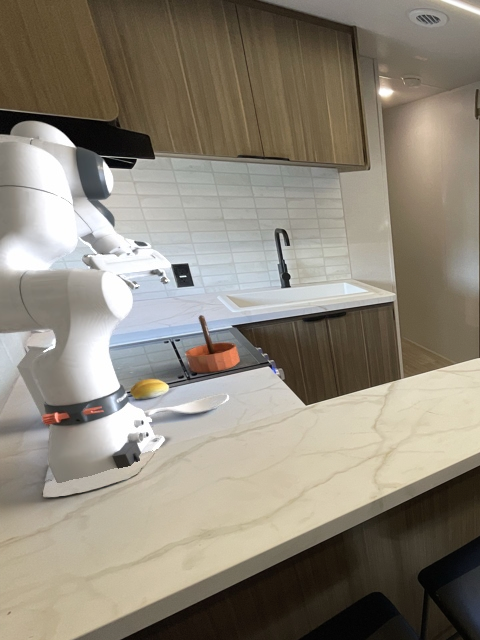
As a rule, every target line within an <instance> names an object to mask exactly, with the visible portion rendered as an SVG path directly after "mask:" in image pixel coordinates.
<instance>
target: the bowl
mask: <svg viewBox="0 0 480 640" xmlns="http://www.w3.org/2000/svg"><path fill="white" fill-rule="evenodd" d="M212 344H213V348H214V351H215V354H211V355H209V351H208V348H207V345H206V344H202V345H197V346H195V347H192V348H189V349H187V350H186V351H185V352H184V357H185V360H186V362H187V365H188V369H189V370H190V371H191V372H194V373H197V374H208V373H209V374H210V373H217V372H222V371H224V370H225V371H226V370H228V369H231V368H233V367H235V366H236V365H238V363H240V362H241V358H240V355H239V352H238V348H237V344H235V343H233V342H212Z"/></svg>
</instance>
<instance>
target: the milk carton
mask: <svg viewBox="0 0 480 640" xmlns="http://www.w3.org/2000/svg"><path fill="white" fill-rule="evenodd" d="M26 347H27V349H28V351H27V352H26V353H25V355H24V356H23V358H22V359H21V360H20V361H19V363H18V364H17V366H16V368H17V370H18V372H19V375H20V376H21V378H22V380H23V383H24V384H25V386H26V388H27V390H28V393H29V394H30V395H31V398H32V400H33V402H34V404H35V406H36V408H37V410H38V412H39V414H40V416H41V417H42V416H43V415H44V414H45V407H44V403H45V400H44V398H43V396H42V394H41V392H40V390H39V388H38V386H37V384H36V382H35V380H34V378H33V376H32V374H31V371H30V368H31V364H32V362H33V360H34V359H35V358H36V357H37V356H38V355H39V354H41V353H42V352H44V351H45V350H47V349H49V348H51V346H50V347H49V346H36V345H27V346H26Z"/></svg>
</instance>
